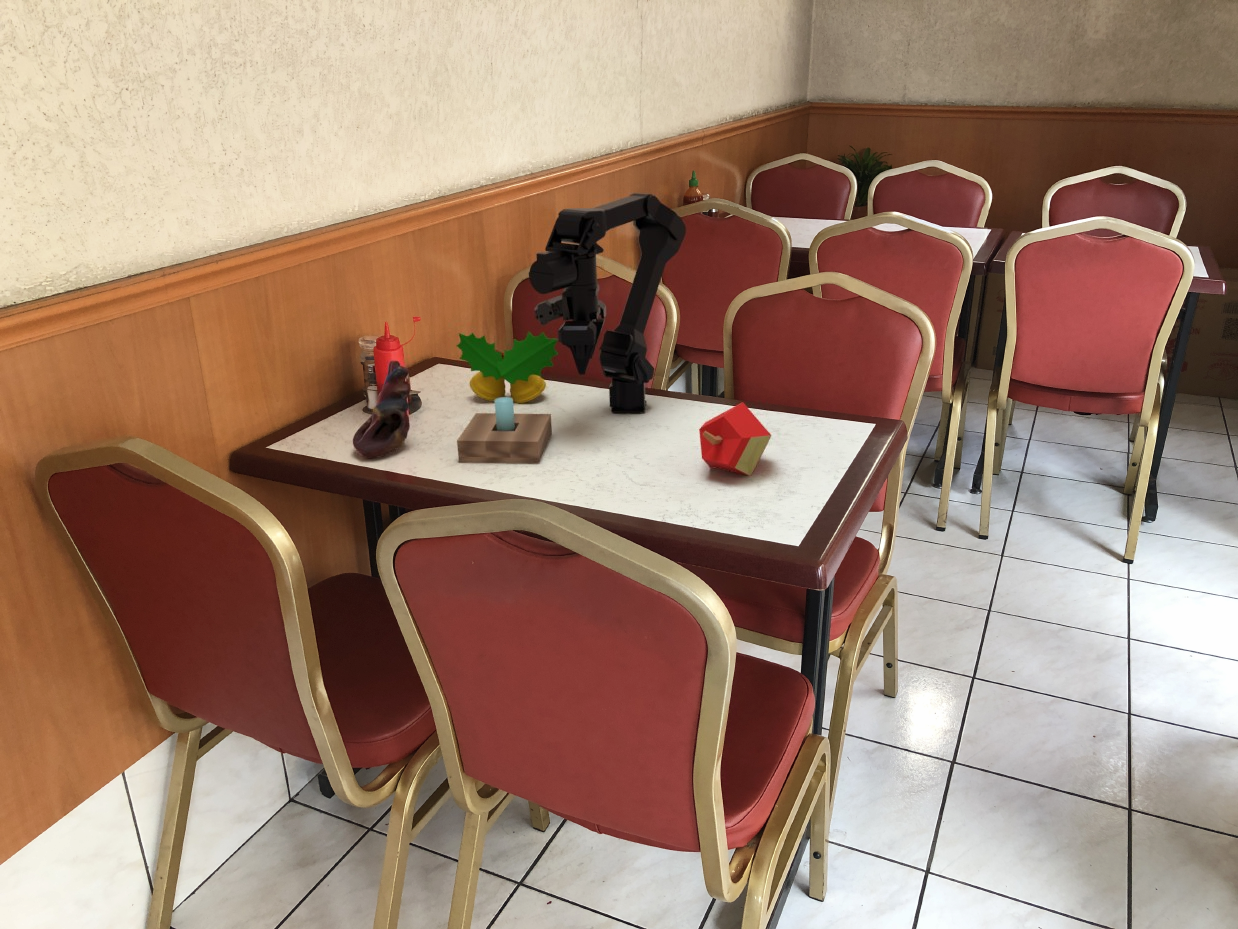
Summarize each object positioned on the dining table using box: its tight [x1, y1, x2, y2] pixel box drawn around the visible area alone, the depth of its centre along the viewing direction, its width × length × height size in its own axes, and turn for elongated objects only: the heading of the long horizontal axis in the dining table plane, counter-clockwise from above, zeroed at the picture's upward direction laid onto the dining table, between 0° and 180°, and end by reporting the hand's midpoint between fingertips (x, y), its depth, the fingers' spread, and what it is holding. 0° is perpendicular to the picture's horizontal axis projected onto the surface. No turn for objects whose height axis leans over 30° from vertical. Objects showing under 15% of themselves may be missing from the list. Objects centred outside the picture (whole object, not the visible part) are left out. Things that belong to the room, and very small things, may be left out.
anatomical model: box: [352, 360, 411, 459], centre depth 171 cm, size 9×13×15 cm
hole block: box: [456, 412, 553, 465], centre depth 172 cm, size 14×14×4 cm
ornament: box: [455, 331, 559, 404], centre depth 195 cm, size 21×8×15 cm, turn 84°
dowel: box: [494, 396, 515, 431], centre depth 171 cm, size 3×3×8 cm
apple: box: [698, 402, 772, 477], centre depth 159 cm, size 12×12×15 cm
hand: (585, 366), depth 177 cm, fingers open, 9 cm apart
